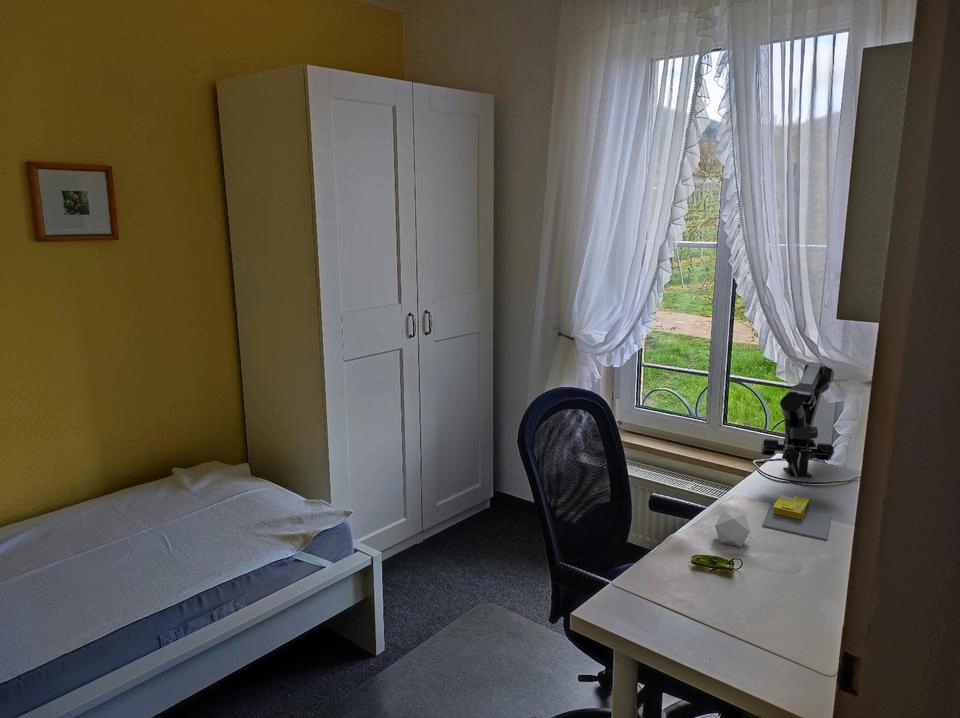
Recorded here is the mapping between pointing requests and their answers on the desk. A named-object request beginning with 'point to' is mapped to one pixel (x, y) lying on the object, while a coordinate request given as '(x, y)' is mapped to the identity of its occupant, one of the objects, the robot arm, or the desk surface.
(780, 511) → the crayon box
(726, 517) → the die
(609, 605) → the desk surface
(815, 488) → the desk surface
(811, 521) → the desk pad
